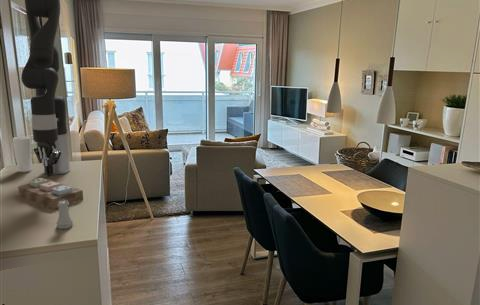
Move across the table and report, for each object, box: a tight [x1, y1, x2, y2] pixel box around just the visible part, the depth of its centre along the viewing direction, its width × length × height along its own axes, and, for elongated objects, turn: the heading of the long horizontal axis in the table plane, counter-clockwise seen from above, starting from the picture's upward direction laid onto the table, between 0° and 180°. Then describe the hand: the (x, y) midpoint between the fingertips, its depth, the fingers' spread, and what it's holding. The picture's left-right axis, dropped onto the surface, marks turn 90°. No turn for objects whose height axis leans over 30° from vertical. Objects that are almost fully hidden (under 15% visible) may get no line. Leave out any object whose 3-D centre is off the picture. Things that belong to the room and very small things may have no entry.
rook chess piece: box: [56, 200, 74, 230], centre depth 103 cm, size 4×4×8 cm
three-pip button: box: [28, 177, 48, 188], centre depth 127 cm, size 4×4×2 cm
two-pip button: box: [52, 184, 72, 196], centre depth 121 cm, size 4×4×2 cm
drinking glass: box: [12, 135, 33, 173], centre depth 152 cm, size 7×7×15 cm
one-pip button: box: [40, 181, 60, 192], centre depth 124 cm, size 4×4×2 cm
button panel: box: [17, 178, 84, 210], centre depth 125 cm, size 21×11×4 cm, turn 59°
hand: (49, 175), depth 123 cm, fingers closed
